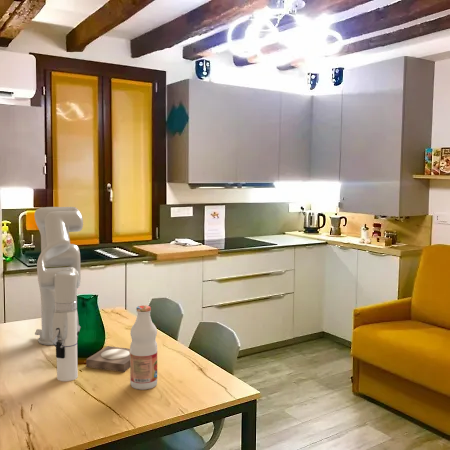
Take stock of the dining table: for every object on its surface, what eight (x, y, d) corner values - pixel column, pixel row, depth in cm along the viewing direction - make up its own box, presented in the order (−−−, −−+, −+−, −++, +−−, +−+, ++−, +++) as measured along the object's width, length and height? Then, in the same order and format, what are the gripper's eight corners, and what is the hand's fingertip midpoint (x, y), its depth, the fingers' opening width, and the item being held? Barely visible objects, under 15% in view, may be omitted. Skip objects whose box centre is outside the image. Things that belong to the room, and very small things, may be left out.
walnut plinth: (86, 366, 202) (86, 358, 201) (107, 353, 217) (107, 345, 216) (124, 372, 197) (124, 363, 197) (143, 357, 212) (142, 349, 212)
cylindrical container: (74, 381, 188) (72, 312, 185) (54, 381, 188) (52, 312, 185) (80, 373, 195) (79, 307, 192) (60, 373, 195) (59, 307, 192)
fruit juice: (126, 382, 187) (125, 305, 184) (150, 377, 192) (150, 302, 189) (137, 392, 179) (136, 312, 176) (162, 386, 185) (162, 308, 182)
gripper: (70, 299, 198) (71, 345, 200) (41, 311, 181) (43, 361, 183) (88, 301, 196) (89, 347, 198) (60, 313, 179) (61, 363, 181)
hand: (66, 353), depth 191 cm, fingers closed on cylindrical container, 7 cm apart
